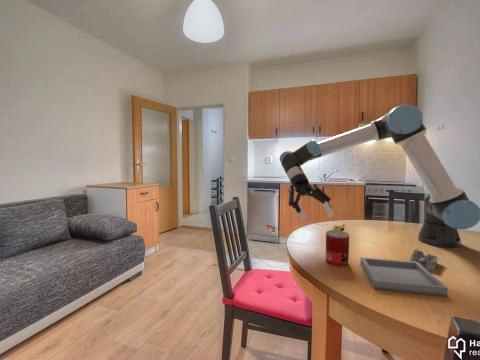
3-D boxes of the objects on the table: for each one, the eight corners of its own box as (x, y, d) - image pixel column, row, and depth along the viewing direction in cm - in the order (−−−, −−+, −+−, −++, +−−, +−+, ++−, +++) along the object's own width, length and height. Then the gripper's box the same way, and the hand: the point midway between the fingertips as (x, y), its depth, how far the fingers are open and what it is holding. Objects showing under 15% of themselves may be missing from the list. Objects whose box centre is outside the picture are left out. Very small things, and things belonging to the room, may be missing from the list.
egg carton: (415, 258, 94) (415, 247, 94) (440, 264, 88) (440, 253, 88) (407, 265, 87) (407, 254, 87) (433, 272, 81) (434, 260, 81)
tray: (417, 268, 84) (417, 261, 84) (447, 297, 66) (447, 288, 66) (360, 263, 88) (360, 257, 88) (374, 289, 71) (374, 280, 71)
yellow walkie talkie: (331, 227, 131) (340, 222, 143) (330, 231, 131) (340, 225, 143) (340, 229, 128) (348, 223, 140) (340, 232, 128) (348, 226, 140)
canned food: (346, 268, 85) (347, 237, 84) (323, 263, 89) (323, 234, 88) (350, 260, 91) (350, 231, 91) (328, 256, 96) (328, 229, 95)
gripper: (316, 182, 119) (337, 219, 106) (271, 184, 110) (288, 225, 97) (323, 172, 114) (347, 209, 101) (276, 173, 105) (296, 214, 92)
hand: (318, 217), depth 99 cm, fingers open, 13 cm apart
